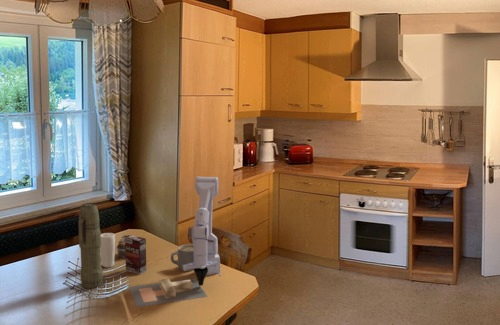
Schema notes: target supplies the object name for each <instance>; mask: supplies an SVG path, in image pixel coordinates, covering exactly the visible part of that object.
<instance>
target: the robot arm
mask: <svg viewBox="0 0 500 325" xmlns="http://www.w3.org/2000/svg"><path fill="white" fill-rule="evenodd" d="M194 184H195V185H194V188H195V191H196V194H197V195H199V198H198V199H199V200H198V201H199V202H198V204H199V206H198V209H196V211H195V216H194V224H193V226H192V227H191V239H192V244H193V255H194V262H193V263H190V264H186V265H183V270H182V271H184V272H186V271H187V270H190V271H192V270H191V269H194V270H193V271H194V273H195V275H196V280H197V282H198V284H199V286H200V287H201V286H203V285H204V281H205V278H206V276H210V275H214V274H217V275H218V276H221V259H220V258H221V257H220V254H218V250H219V244H218V243H219V241H218V240H219V239H218V237H217V236H216V235H215V234H214V233H213V207H214V204H213V203H214V198H215V197H216V196H218V195H219V187H220V186H219V184H220V183H219V178H218V176H198V175H197V176H196V177H195V182H194Z"/></svg>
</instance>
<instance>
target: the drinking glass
mask: <svg viewBox="0 0 500 325" xmlns="http://www.w3.org/2000/svg"><path fill="white" fill-rule="evenodd" d="M115 253H116V235H115V233H113V232H104V233H101V246H100V255H101V261H102V262H101V265H102V267H103V268H112V267H114V266H115Z"/></svg>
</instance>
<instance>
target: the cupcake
mask: <svg viewBox="0 0 500 325" xmlns="http://www.w3.org/2000/svg"><path fill="white" fill-rule="evenodd" d="M131 235H132V234H130V235H128V234H127V235H124V234H123V235H121V239H119V241H118V244H117V245H116V250H117V254H118V257H119V258H120V259H125V260H126V257H125V238H126V237H128V236H131Z"/></svg>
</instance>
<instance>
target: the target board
mask: <svg viewBox="0 0 500 325" xmlns="http://www.w3.org/2000/svg"><path fill="white" fill-rule="evenodd" d="M184 280H191V282H192V283H193V290H190V291H184V292H177V293H176V297H172V298H165V296H164V294H163V292H162V290H161V288H160V282H155V283H149V284H141V285H136V286H128V288H129V291H130V294H131V296H132V299H133V301H134V304H135V306H136V308H143V307H148V306H155V305H157V306H158V305H162V304H168V303H175V302H182V301H189V300H195V299H200V298H201V299H202V298H207V297H208V295H207V294H206V292H205V291H204V289H203V288H202V287H201V286H199V284H198V280H197V279H196V278H195V277H193V278H185V279H184V278H183V279H178V280H170V281H171V282H177V281H184Z"/></svg>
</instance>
